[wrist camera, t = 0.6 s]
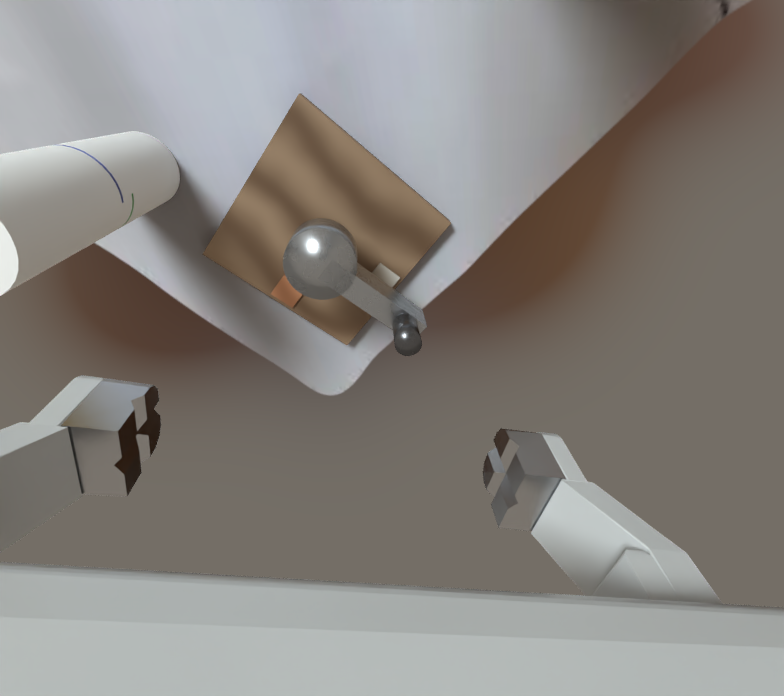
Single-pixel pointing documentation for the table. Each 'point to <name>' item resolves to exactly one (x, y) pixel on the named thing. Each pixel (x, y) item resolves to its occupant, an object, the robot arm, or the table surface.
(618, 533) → the robot arm
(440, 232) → the post base
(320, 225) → the crank handle
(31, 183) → the cylindrical container
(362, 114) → the table surface
